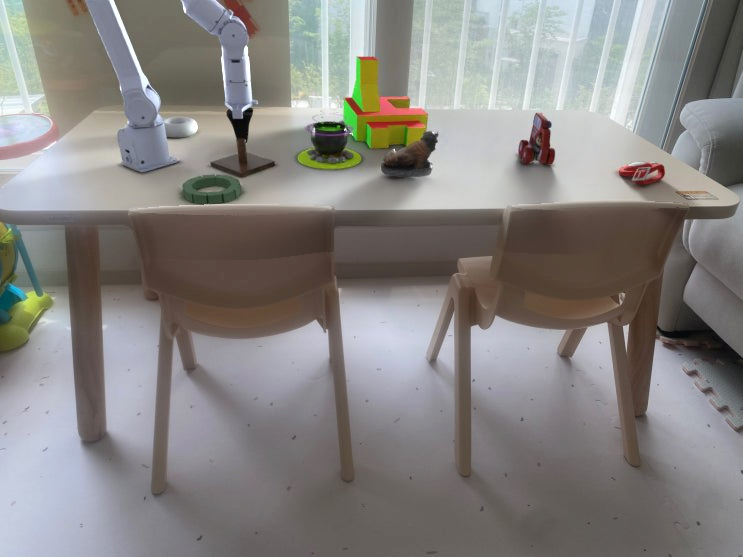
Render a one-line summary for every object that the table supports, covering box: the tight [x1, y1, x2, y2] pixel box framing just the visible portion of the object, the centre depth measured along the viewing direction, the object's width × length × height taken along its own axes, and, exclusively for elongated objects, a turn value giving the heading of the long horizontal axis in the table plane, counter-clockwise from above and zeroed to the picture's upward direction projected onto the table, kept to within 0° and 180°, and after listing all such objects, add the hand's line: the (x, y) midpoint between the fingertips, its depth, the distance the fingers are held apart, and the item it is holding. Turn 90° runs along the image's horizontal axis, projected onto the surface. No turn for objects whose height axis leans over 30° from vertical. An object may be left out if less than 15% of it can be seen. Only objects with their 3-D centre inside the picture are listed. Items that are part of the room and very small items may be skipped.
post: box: [210, 138, 276, 178], centre depth 118 cm, size 10×10×6 cm
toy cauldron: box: [297, 108, 362, 170], centre depth 123 cm, size 15×15×11 cm
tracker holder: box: [617, 161, 666, 185], centre depth 121 cm, size 12×4×10 cm
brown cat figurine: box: [380, 130, 439, 178], centre depth 115 cm, size 12×7×10 cm, turn 89°
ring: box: [181, 173, 242, 205], centre depth 105 cm, size 11×11×2 cm
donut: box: [163, 116, 199, 139], centre depth 136 cm, size 10×4×10 cm
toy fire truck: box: [517, 112, 556, 166], centre depth 127 cm, size 7×12×10 cm, turn 178°
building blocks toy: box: [342, 56, 429, 149], centre depth 140 cm, size 19×25×18 cm
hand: (242, 142), depth 121 cm, fingers closed
